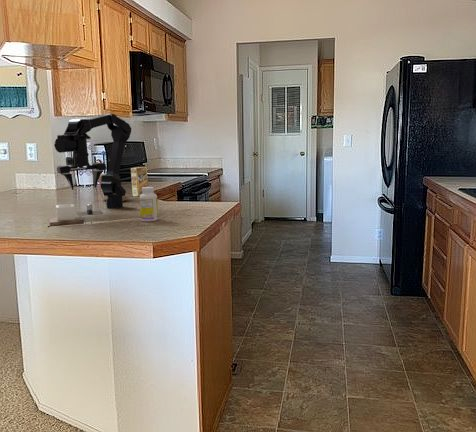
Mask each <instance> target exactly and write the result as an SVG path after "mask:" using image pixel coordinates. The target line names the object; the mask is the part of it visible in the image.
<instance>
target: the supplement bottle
mask: <svg viewBox="0 0 476 432" xmlns="http://www.w3.org/2000/svg"><path fill="white" fill-rule="evenodd" d="M158 207H159V206H158V195H157V194H156V193H155V187H154V186H148V187H143V188H142V194H141V195H140V196H139V208H140V209H139V210H140V211H139V212H140V220H141V221H142V222H147V223H149V222H156V221H158V220H159V209H158Z"/></svg>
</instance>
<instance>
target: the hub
mask: <svg viewBox="0 0 476 432" xmlns="http://www.w3.org/2000/svg"><path fill="white" fill-rule="evenodd" d="M48 220H49V221H48V222H49V227H60V226H71V225H73V226H75V225H82V224H83V225H84V224H85V222H84V218H83V216H81V215H78V214H77V215H76V214H75V219H72V220H60V221H57V216H55V217H54V216H52V217H48Z"/></svg>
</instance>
